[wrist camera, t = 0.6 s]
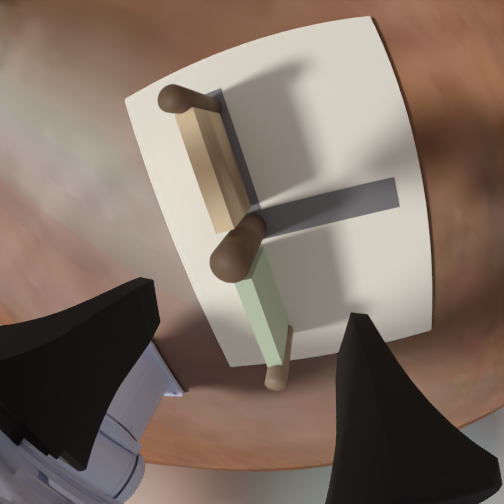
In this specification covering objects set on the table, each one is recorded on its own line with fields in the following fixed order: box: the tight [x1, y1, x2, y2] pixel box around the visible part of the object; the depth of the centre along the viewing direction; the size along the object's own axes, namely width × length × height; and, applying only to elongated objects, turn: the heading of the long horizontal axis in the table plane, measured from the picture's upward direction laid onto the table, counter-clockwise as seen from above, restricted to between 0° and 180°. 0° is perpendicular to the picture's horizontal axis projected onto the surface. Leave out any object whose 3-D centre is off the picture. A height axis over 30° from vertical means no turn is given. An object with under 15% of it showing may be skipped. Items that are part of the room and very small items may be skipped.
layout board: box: [125, 16, 432, 367], centre depth 19 cm, size 18×24×1 cm
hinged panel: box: [235, 247, 293, 391], centre depth 18 cm, size 8×1×6 cm, turn 18°
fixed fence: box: [158, 84, 266, 283], centre depth 15 cm, size 10×2×6 cm, turn 18°
